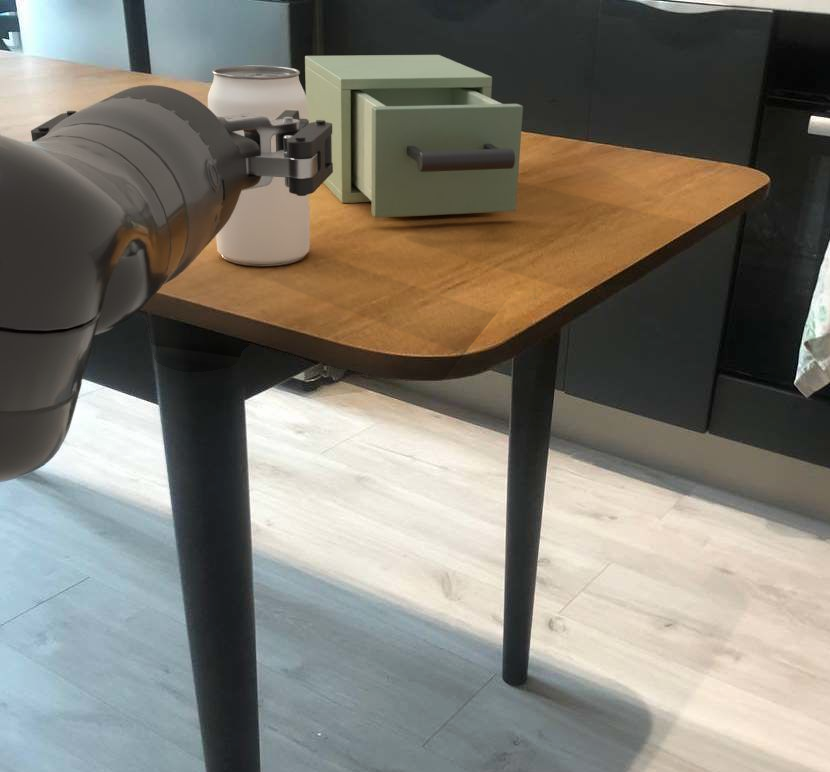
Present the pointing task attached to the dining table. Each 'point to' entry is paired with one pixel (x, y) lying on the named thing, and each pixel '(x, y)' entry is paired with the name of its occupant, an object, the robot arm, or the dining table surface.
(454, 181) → the drawer
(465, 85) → the cabinet
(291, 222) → the can
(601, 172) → the dining table surface
